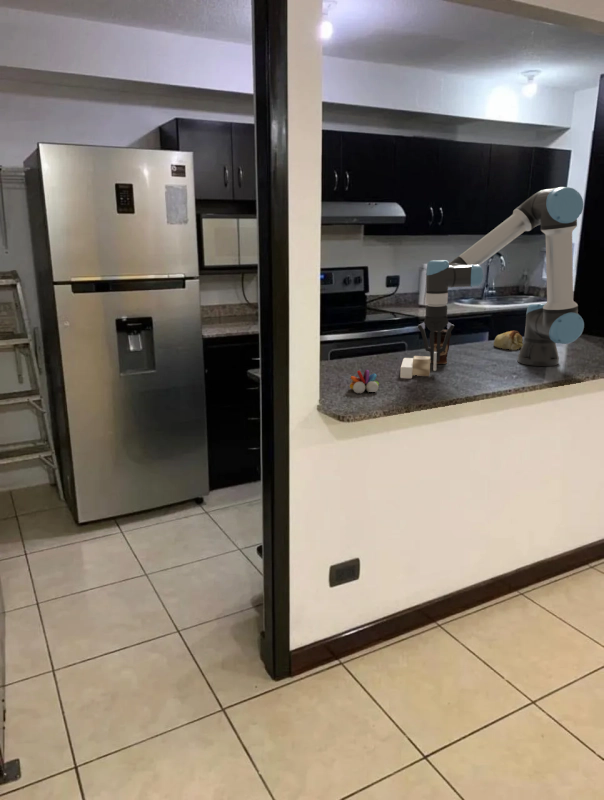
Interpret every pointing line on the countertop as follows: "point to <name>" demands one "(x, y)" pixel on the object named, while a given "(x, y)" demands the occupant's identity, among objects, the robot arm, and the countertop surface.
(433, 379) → the countertop surface
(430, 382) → the countertop surface
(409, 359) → the white rectangular bar
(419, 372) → the block
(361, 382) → the rainbow fan toy
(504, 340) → the pastry
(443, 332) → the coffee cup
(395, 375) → the countertop surface
